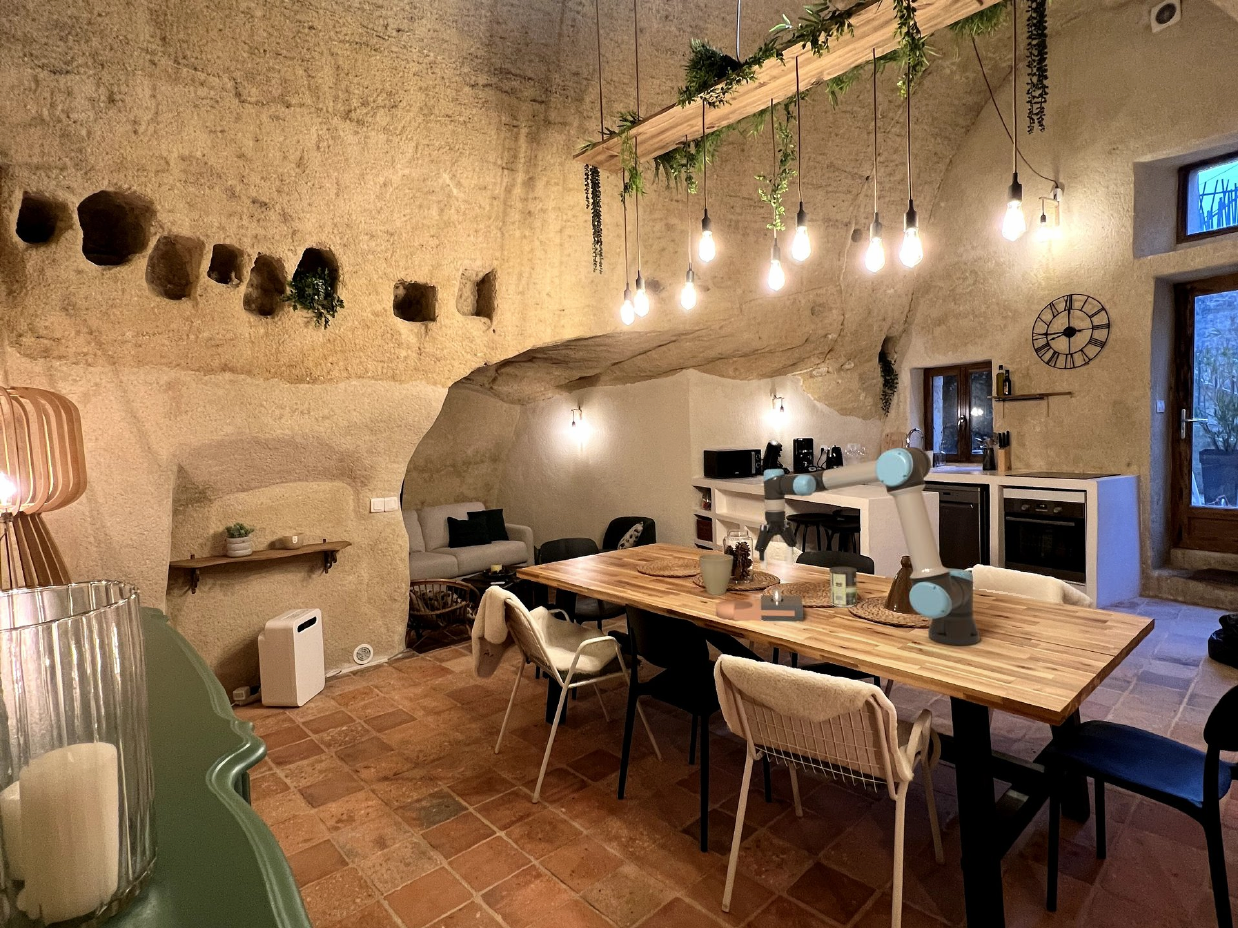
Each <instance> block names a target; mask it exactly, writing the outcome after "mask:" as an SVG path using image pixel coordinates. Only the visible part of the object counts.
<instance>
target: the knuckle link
mask: <svg viewBox="0 0 1238 928" xmlns="http://www.w3.org/2000/svg"><path fill="white" fill-rule="evenodd" d="M715 613H716V615H715V616H716V617H717V618H719V619H723V620H726V619H728V620H727V621H750V620H757V621H756V622H759V621H760V622H762V621H761V615H766V616H795V611H784V610H761V599H760V600H758V599H757V600H754V599H751V600H749V599H748V600H747V599H727V600H722V601H718V602H717V603H716V604H715ZM758 620H759V621H758Z"/></svg>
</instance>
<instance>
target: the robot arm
mask: <svg viewBox="0 0 1238 928" xmlns="http://www.w3.org/2000/svg"><path fill="white" fill-rule="evenodd" d="M931 467H932V461H931V458H930V455H929V454H928V453H927V452H926V451H925V450H923V449H922V448H919V447H915V446H907V447H896V448H892V449H889V450H886V451H884V452H883V453H881V455H880V456H879V457H878V458H877V459H876V460H871V461H865V462H860V463H857V464H851V465H845V466H840V467H835V468H830V469H826V470H819V471H816V472H809V473H802V474H785V472H784V469H782V468H775V469H774V468H771V469H770V468H769V469H766V470H764V472H763V494H764V510H765V512H764V520H765V521H766V524H760V525H759V533H758V536H757V538H756V539H757V540H756V543H755V545H754V551H755V552H758V557H759V558H758V559H759V561H760V563H759V564H760V570H766V571H767V570H768V552H767V551H766V550H767V548H768V547H769V544H770V542H771V541H772V539H773V538H774V536H775V537H776V536H780V537H781V539H782V540H783V542H784V543H785V544H786V546H785V557H786V558H785V559H786V560H785V562H786V564H787V565H792V566H793V565H794V555H795V554H794V553H795V552H794V548H796V546H797V545H798V541H797V538H796V536H795V533H794V531H793V529H792V524H791V521H786V519H787V518H786V511H785V510H786V497H785V496H798V497H806V496H808V497H809V496H812V495H813V494H814V493H815V494H816V493H823V492H826V491H831V490H839V489H845V488H850V487H856V486H861V485H866V484H873V483H879V482H880V483H881V484H883V485H885V489H886V492H887V495H889V496H890V497H892V498H893V500H894V504H895V508H896V511H897V513H898V514H897V515H898V517H899V522H900V526H901V528H902V529H901V530H902V534H903V537H904V541H905V544H906V549H907V552H908V556H909V560H910V563H911V567H912V570H913V571H912V572H911V574H910V576H909V579H910V583H911V586H912V587H911V589H910V591H909V596H908V597H909V603H910V605H911V607H912V608H913V610H914V611H915V612H916V613H917V614H919V615H920V616H922V617H923V618H926V619H931V622H930V624H929V626H928V630H927V631H928V635H927V636H928V638H929V639H930V640H931V641H934V642H937V643H940V644H945V645H951V646H954V645H955V646H972V645H976V644H979V642H980V632H979V629H978V626H977V623H976V621H975V618H974V583H975V582H974V579H973V578H974V577H973V573H972V572H971V571H969V570H965V569H958V568H948V567H945V566H943V563H942V561H941V557H940V553H939V549H938V546H937V543H936V539H935V535H934V534H935V533H934V530H933V528H932V524H931V520H930V517H929V516H930V515H929V512H928V510H927V505H926V502H925V498H924V494H923V490H924V488H925V487H926V482H925V479H924V478H926V477H927V476H928V475H929V473H930V471H931Z"/></svg>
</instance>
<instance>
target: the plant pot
mask: <svg viewBox="0 0 1238 928" xmlns="http://www.w3.org/2000/svg"><path fill="white" fill-rule="evenodd" d="M733 563H734V556H733V555H730V554H725V553H708V554H707V553H706V554H701V555H699V556H698V564H699V568H700V573H701V577H702V581H703V584H704V587H705V589H706V592H707V594H708V595H711V596H722V595H725V594H726V591H727V589H728V584H729V582H730V579H731V573H732V569H733Z"/></svg>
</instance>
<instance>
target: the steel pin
mask: <svg viewBox="0 0 1238 928" xmlns="http://www.w3.org/2000/svg"><path fill="white" fill-rule="evenodd" d="M772 596H773V602H781V596H782V589H781V588H774V589H772Z"/></svg>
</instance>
